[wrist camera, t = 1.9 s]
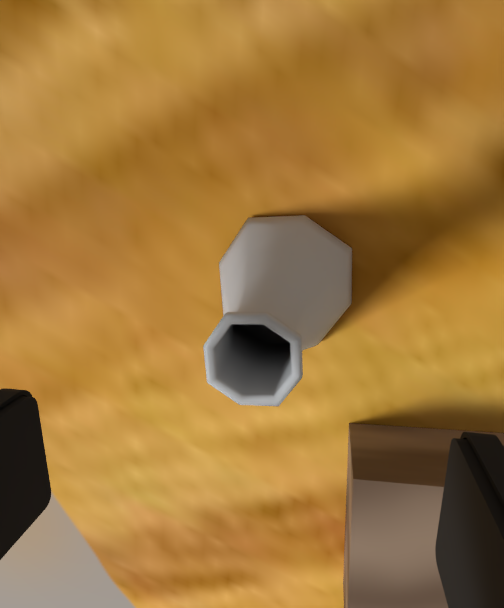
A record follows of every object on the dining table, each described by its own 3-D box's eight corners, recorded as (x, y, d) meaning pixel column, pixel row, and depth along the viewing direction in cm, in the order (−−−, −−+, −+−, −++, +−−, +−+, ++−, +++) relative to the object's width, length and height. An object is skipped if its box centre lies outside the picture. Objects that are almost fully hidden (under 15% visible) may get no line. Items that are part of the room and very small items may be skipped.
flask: (236, 194, 22) (163, 214, 12) (375, 235, 21) (412, 288, 12) (205, 322, 24) (125, 420, 15) (329, 361, 23) (328, 490, 14)
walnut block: (348, 420, 25) (353, 479, 20) (581, 434, 22) (647, 505, 18) (343, 577, 28) (345, 659, 23) (543, 603, 26) (590, 699, 21)
